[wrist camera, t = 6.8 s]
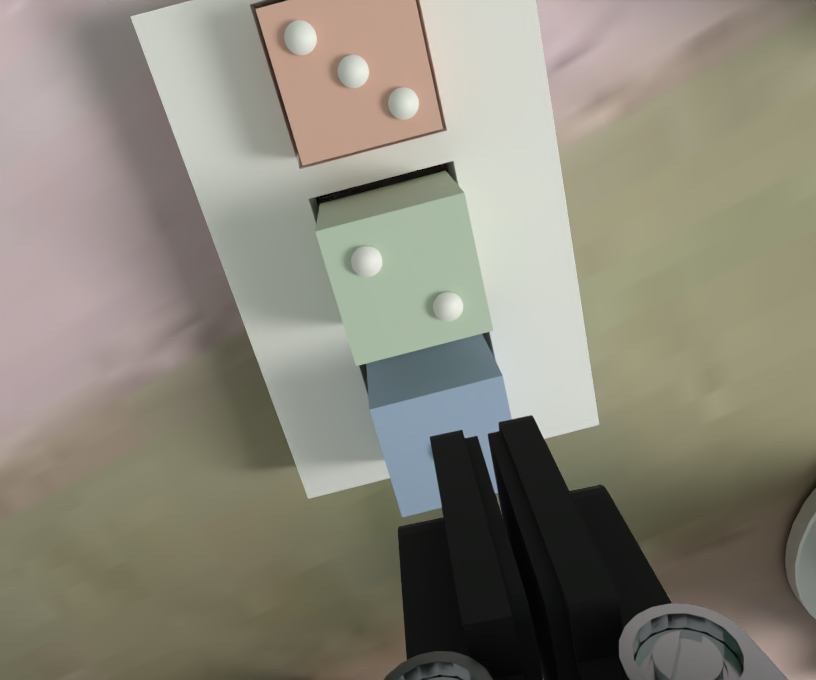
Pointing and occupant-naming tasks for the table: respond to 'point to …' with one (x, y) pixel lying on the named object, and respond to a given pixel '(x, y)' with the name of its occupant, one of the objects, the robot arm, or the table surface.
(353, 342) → the pale green cube
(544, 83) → the board
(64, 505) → the table surface
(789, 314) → the table surface
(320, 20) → the pink three-dot die
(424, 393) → the blue pull-out drawer
